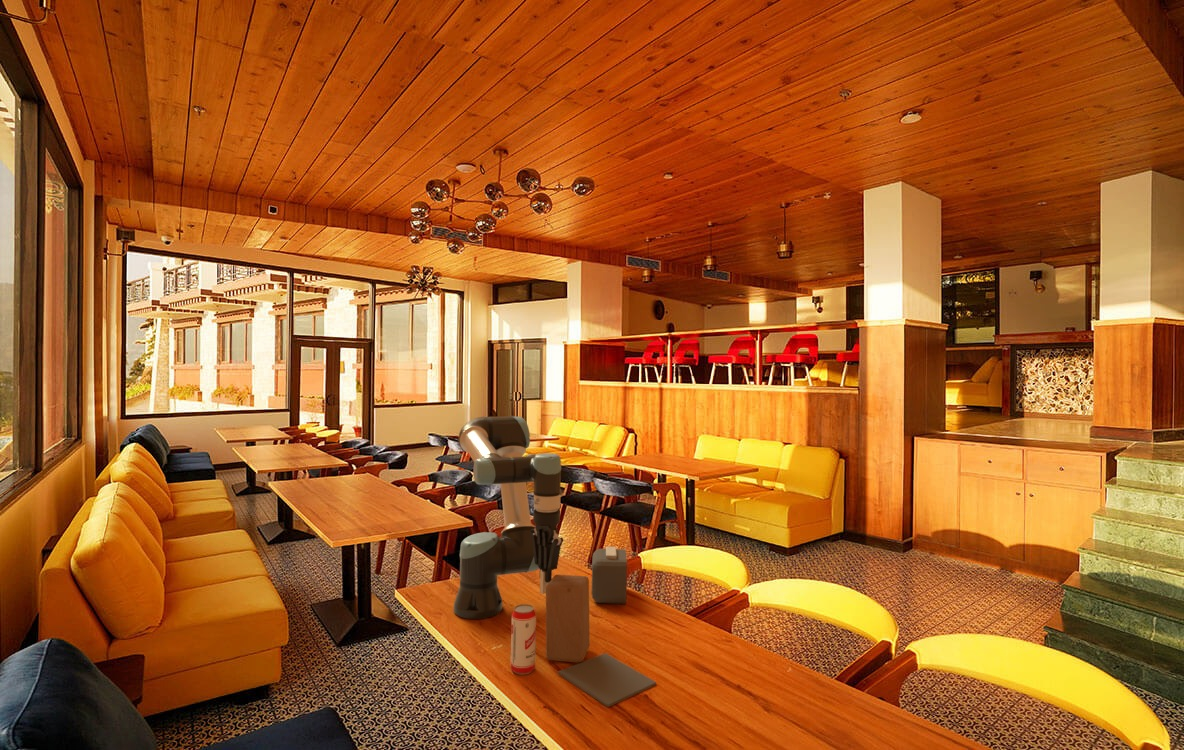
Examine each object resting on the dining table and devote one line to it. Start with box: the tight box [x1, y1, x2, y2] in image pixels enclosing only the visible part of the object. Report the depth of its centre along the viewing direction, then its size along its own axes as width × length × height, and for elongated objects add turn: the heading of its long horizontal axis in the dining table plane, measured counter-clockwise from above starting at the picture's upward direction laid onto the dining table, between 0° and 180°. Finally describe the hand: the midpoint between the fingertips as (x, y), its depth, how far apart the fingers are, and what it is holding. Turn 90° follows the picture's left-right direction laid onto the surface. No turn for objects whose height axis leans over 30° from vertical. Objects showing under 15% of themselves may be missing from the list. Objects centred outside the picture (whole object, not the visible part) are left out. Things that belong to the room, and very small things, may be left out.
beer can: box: [510, 603, 537, 676], centre depth 158 cm, size 6×6×16 cm
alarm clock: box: [591, 546, 628, 605], centre depth 208 cm, size 16×11×16 cm
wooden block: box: [545, 574, 590, 663], centre depth 166 cm, size 10×10×20 cm
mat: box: [557, 652, 657, 708], centre depth 154 cm, size 19×16×1 cm
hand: (545, 592), depth 174 cm, fingers closed
